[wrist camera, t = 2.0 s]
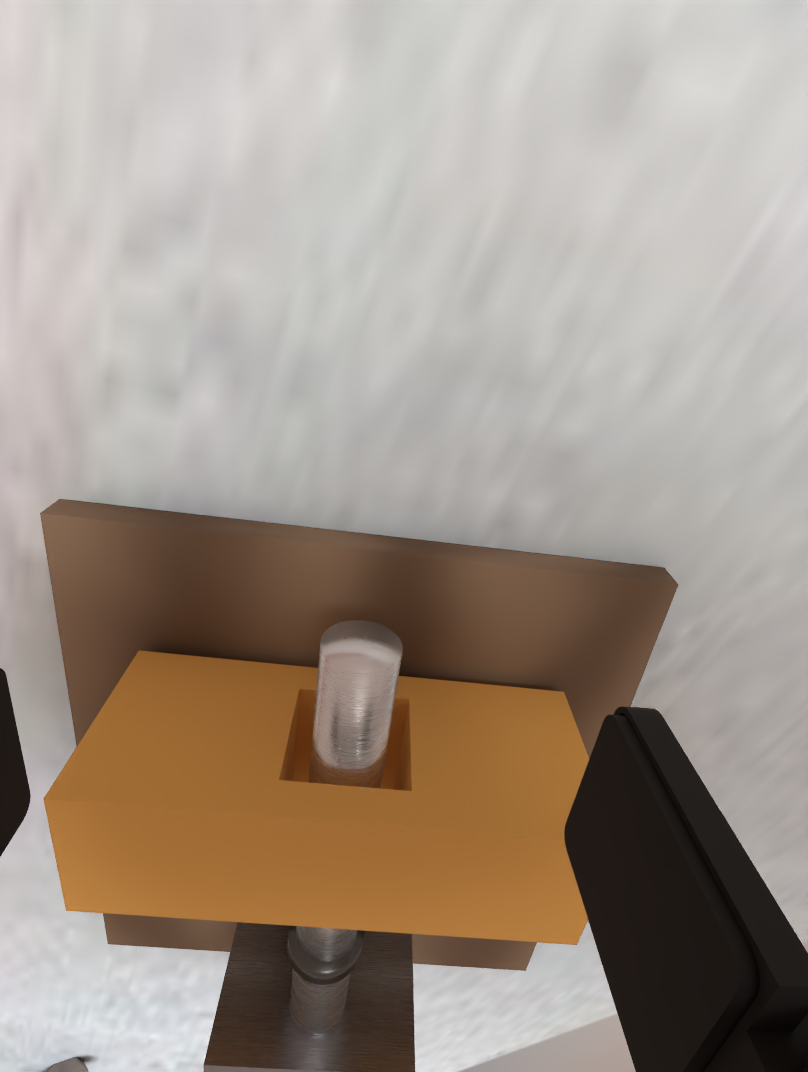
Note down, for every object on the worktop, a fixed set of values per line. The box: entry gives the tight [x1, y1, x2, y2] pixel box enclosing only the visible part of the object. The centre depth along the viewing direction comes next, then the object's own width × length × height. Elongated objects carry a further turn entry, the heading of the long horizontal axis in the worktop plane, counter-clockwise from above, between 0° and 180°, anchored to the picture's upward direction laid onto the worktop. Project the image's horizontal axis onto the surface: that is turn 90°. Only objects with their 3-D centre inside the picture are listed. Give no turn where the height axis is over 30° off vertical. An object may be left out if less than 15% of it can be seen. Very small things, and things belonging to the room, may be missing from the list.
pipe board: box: [40, 499, 678, 971], centre depth 21 cm, size 18×20×1 cm
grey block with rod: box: [204, 620, 415, 1072], centre depth 19 cm, size 7×19×5 cm, turn 173°
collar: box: [44, 651, 589, 945], centre depth 16 cm, size 13×4×5 cm, turn 83°
